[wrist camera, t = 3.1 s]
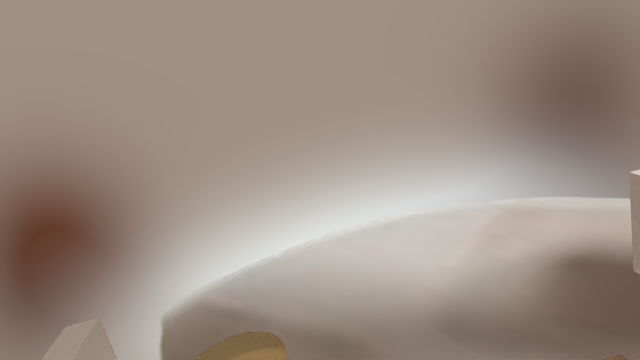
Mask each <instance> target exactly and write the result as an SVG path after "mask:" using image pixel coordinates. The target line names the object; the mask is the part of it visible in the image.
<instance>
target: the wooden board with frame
mask: <svg viewBox="0 0 640 360" xmlns="http://www.w3.org/2000/svg"><path fill="white" fill-rule="evenodd" d="M605 360H627V359H626V358H625V357H624V356H622V355H618V356H615V357H612V358H608V359H605Z"/></svg>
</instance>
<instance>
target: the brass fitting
mask: <svg viewBox="0 0 640 360" xmlns="http://www.w3.org/2000/svg"><path fill="white" fill-rule="evenodd" d="M197 360H289V359H288V356H287V353H286V349H285V346H284V344H283V342H282V341H281V340H280V339H279V338H278V337H277V336H275V335H273V334H270V333H266V332H248V333H243V334H239V335H235V336H232V337H230V338H227V339H225V340H223V341H221V342H219V343H217V344H216V345H214V346H212V347H211V348H209V349H208V350H207V351H205V352H204V353H203V354H202V355H201V356H200V357H199V358H198V359H197Z"/></svg>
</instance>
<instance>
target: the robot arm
mask: <svg viewBox="0 0 640 360" xmlns="http://www.w3.org/2000/svg"><path fill="white" fill-rule="evenodd" d="M629 176H630V199H631V221H632V244H633V267H634V271H635V272H637V273H638V274H640V170H636V171H633V172H630V173H629ZM42 360H117V358H116V356H115V353H114V351H113V349H112V346H111V344H110V342H109V340H108V337H107V335H106V333H105V330H104V328H103V326H102V323H101V321H100V319H99V318H97V319H93V320H89V321H86V322H82V323H78V324H75V325H71V326H67V327H66V328H65V329H64V330H63V331H62V333H61V334H60V336H59V337H58V338H57V340H56V341H55V342H54V343H53V345H52V346H51V348H50V349H49V350H48V351H47V353H46V354H45V355H44V357H43V358H42Z"/></svg>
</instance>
